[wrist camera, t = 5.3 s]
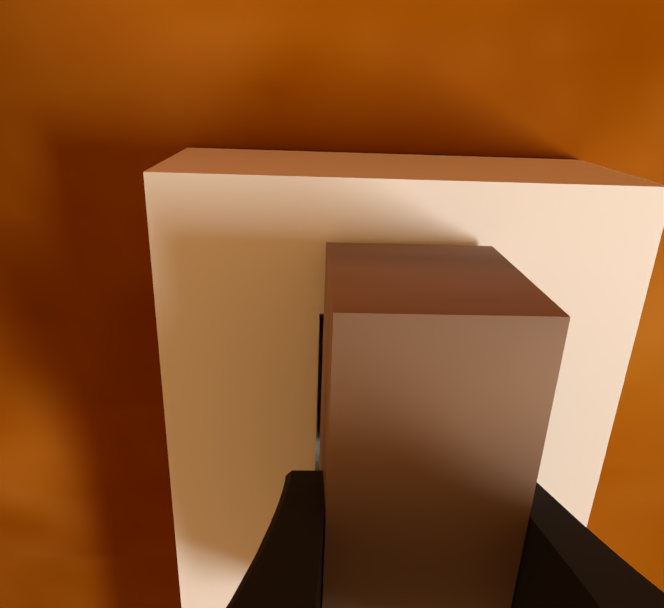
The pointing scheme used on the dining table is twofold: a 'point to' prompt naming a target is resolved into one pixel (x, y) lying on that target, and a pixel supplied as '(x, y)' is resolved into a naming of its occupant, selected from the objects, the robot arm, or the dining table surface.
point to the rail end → (431, 422)
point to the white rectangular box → (308, 311)
